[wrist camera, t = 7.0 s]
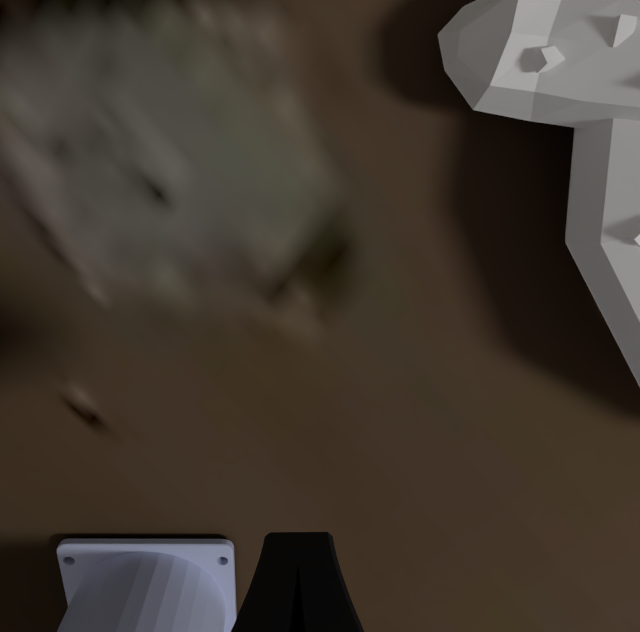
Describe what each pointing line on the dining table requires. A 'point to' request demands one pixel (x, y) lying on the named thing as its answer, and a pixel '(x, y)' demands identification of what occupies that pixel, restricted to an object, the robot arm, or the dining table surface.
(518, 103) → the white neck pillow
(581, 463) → the dining table surface
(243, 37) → the dining table surface
